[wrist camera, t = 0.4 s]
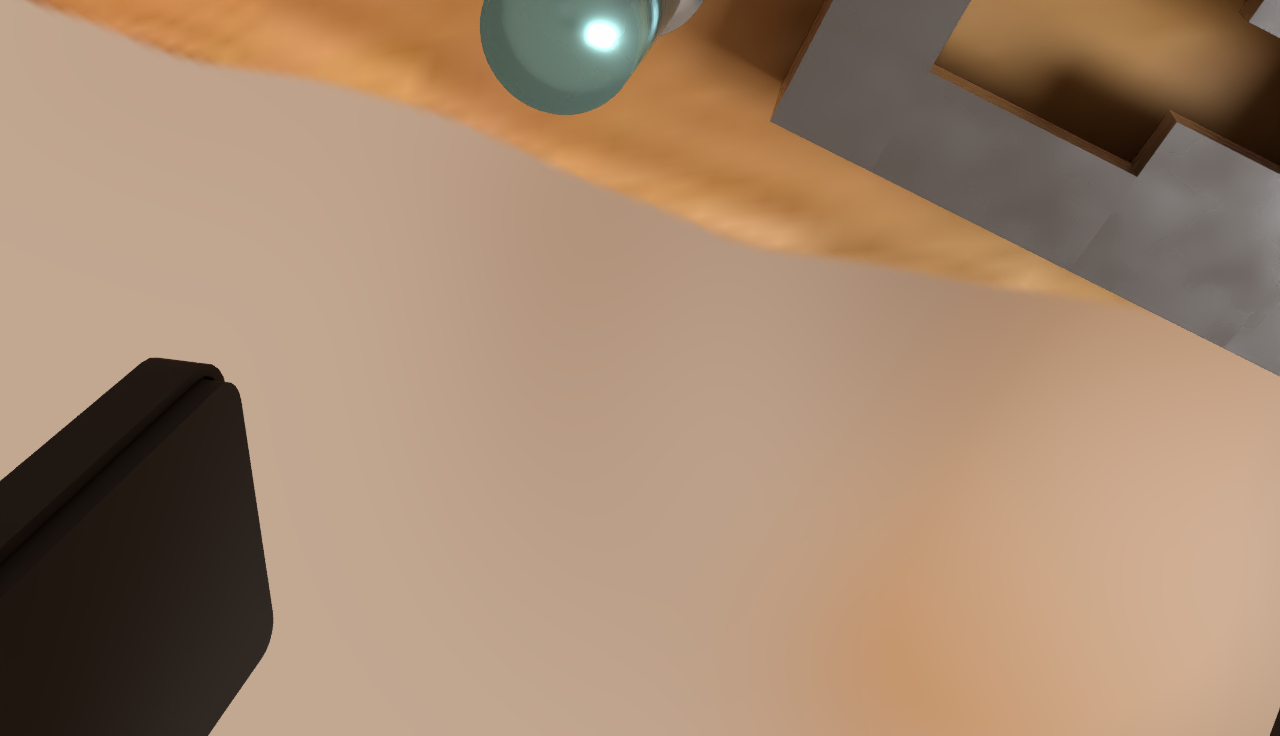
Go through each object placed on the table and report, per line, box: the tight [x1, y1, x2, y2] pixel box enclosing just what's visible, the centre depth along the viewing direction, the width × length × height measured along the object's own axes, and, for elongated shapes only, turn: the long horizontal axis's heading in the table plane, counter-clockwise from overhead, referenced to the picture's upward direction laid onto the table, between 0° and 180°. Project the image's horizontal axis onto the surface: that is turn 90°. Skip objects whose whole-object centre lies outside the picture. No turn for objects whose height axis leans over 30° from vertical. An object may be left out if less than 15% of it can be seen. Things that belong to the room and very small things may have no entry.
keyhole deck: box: [770, 0, 1280, 376], centre depth 37 cm, size 20×14×4 cm
